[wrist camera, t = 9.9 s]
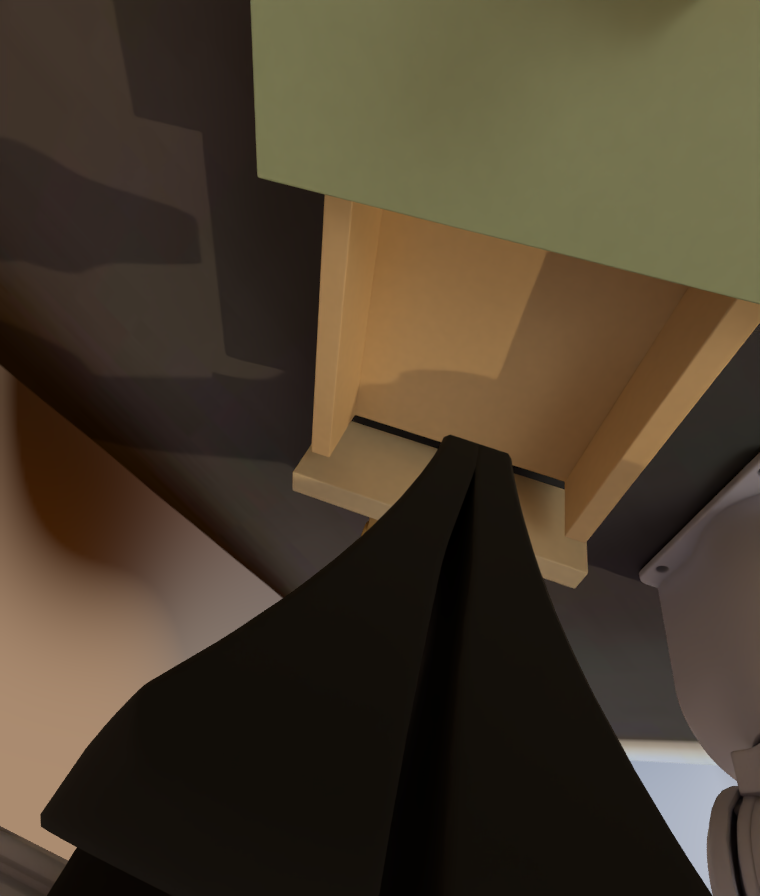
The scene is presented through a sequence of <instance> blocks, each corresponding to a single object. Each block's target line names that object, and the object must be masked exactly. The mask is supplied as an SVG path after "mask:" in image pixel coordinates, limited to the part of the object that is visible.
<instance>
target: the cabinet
mask: <svg viewBox="0 0 760 896" xmlns="http://www.w3.org/2000/svg"><path fill="white" fill-rule="evenodd" d="M250 6H251V31H252V56H253V81H254V107H255V132H256V157H257V176H258V177H259V178H261V179H265V180H269V181H273V182H277V183H281V184H285V185H289V186H293V187H297V188H301V189H305V190H309V191H313V192H317V193H321V194H325V195H329V196H333V197H336V198H340V199H344V200H348V201H352V202H356V203H360V204H364V205H368V206H372V207H376V208H380V209H384V210H388V211H392V212H396V213H400V214H404V215H408V216H412V217H416V218H420V219H424V220H428V221H432V222H435V223H439V224H443V225H447V226H451V227H455V228H459V229H463V230H467V231H471V232H475V233H479V234H483V235H487V236H491V237H495V238H499V239H503V240H507V241H511V242H515V243H519V244H523V245H527V246H531V247H534V248H538V249H542V250H546V251H550V252H554V253H558V254H562V255H566V256H570V257H574V258H578V259H582V260H586V261H590V262H594V263H598V264H602V265H606V266H610V267H614V268H618V269H622V270H626V271H630V272H633V273H637V274H641V275H645V276H649V277H653V278H657V279H661V280H665V281H669V282H673V283H677V284H681V285H685V286H689V287H693V288H697V289H701V290H705V291H709V292H713V293H717V294H721V295H725V296H729V297H732V298H736V299H740V300H744V301H748V302H752V303H756V304H760V0H250Z"/></svg>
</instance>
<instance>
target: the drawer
mask: <svg viewBox="0 0 760 896" xmlns="http://www.w3.org/2000/svg"><path fill="white" fill-rule="evenodd" d="M759 323H760V304H756V303H752V302H748V301H744V300H740V299H736V298H732V297H729V296H725V295H721V294H717V293H713V292H709V291H705V290H701V289H697V288H693V287H689V286H685V285H681V284H677V283H673V282H669V281H665V280H661V279H657V278H653V277H649V276H645V275H641V274H637V273H633V272H630V271H626V270H622V269H618V268H614V267H610V266H606V265H602V264H598V263H594V262H590V261H586V260H582V259H578V258H574V257H570V256H566V255H562V254H558V253H554V252H550V251H546V250H542V249H538V248H534V247H531V246H527V245H523V244H519V243H515V242H511V241H507V240H503V239H499V238H495V237H491V236H487V235H483V234H479V233H475V232H471V231H467V230H463V229H459V228H455V227H451V226H447V225H443V224H439V223H435V222H432V221H428V220H424V219H420V218H416V217H412V216H408V215H404V214H400V213H396V212H392V211H388V210H384V209H380V208H376V207H372V206H368V205H364V204H360V203H356V202H352V201H348V200H344V199H340V198H336V197H333V196H329V195H325V197H324V216H323V236H322V255H321V274H320V293H319V312H318V332H317V351H316V370H315V389H314V408H313V428H312V444H311V446H310V447H309V449H308V450H307V452H306V453H305V455H304V456H303V458H302V459H301V461H300V462H299V464H298V465H297V467H296V468H295V470H294V471H293V491H296V492H299V493H302V494H305V495H308V496H311V497H313V498H316V499H319V500H322V501H325V502H328V503H331V504H333V505H336V506H339V507H342V508H345V509H348V510H351V511H353V512H356V513H359V514H362V515H365V516H368V517H370V518H369V521H367V523H366V524H365V527H364V529H363V532H362V534H361V536H362V535H363V534H364V533H365V532H366V531H367V530H368V529H370V528H371V527H372V526H373V525H374V524H375V523H376V522H377V521H378V520H379V519H380V518H381V517H382V516H383V515H384V514H385V513H386V512H387V511H388V510H389V509H390V508H391V507H392V506H393V505H394V504H395V503H396V502H397V500H398V499H399V498H400V497H401V496H402V495H403V494H404V493H405V492H406V490H407V489H408V488H409V487H410V486H411V484H412V483H413V482H414V481H415V480H416V479H417V477H418V476H419V475H420V474H421V473H422V471H423V470H424V469H425V467H426V466H427V465H428V463H429V462H430V460H431V459H432V458H433V456H434V455H435V453H436V451H437V450H438V449H437V448H434V447H431V446H428V445H425V444H421V443H418V442H415V441H412V440H409V439H406V438H403V437H400V436H397V435H393V434H390V433H387V432H384V431H381V430H378V429H375V428H372V427H369V426H365V425H362V424H359V423H356V422H353V421H352V419H353V417H354V416H355V415H357V416H360V417H364V418H367V419H370V420H373V421H376V422H379V423H382V424H386V425H389V426H392V427H395V428H398V429H401V430H404V431H407V432H411V433H414V434H417V435H420V436H423V437H426V438H429V439H433V440H436V441H439V442H442V440H443V437H445V436H448V435H453V436H456V437H460V438H463V439H466V440H469V441H472V442H475V443H478V444H481V445H484V446H487V447H490V448H493V449H496V450H499V451H502V452H505V453H508V454H509V455H510V457H511V459H512V465H514V466H517V467H520V468H523V469H527V470H530V471H533V472H536V473H539V474H542V475H545V476H548V477H552V478H555V479H558V480H561V481H564V482H565V489H561V488H558V487H555V486H552V485H549V484H546V483H543V482H540V481H537V480H533V479H530V478H527V477H524V476H521V475H518V474H515V473H514V477H515V483H516V487H517V492H518V496H519V500H520V505H521V509H522V513H523V516H524V520H525V524H526V527H527V530H528V534H529V537H530V541H531V544H532V547H533V551H534V554H535V557H536V560H537V563H538V566H539V569H540V572H541V574H542V577H543V578H545V579H548V580H551V581H554V582H556V583H559V584H562V585H565V586H568V587H571V588H574V589H575V588H576V587H577V585H578V584H579V583H580V582H581V581H582V580H583V579H584V577H585V576H586V575H587V574H588V564H587V541H588V539H589V538H590V537H591V536H592V534H593V533H594V532H595V530H596V529H597V528H598V527H599V525H600V524H601V523H602V522H603V520H604V519H605V518H606V517H607V515H608V514H609V513H610V512H611V510H612V509H613V508H614V506H615V505H616V504H617V503H618V501H619V500H620V499H621V498H622V496H623V495H624V494H625V493H626V491H627V490H628V489H629V487H630V486H631V485H632V484H633V482H634V481H635V480H636V479H637V477H638V476H639V475H640V474H641V472H642V471H643V470H644V469H645V467H646V466H647V465H648V463H649V462H650V461H651V460H652V458H653V457H654V456H655V455H656V453H657V452H658V451H659V450H660V448H661V447H662V446H663V445H664V443H665V442H666V441H667V439H668V438H669V437H670V436H671V434H672V433H673V432H674V431H675V429H676V428H677V427H678V426H679V424H680V423H681V422H682V421H683V419H684V418H685V417H686V415H687V414H688V413H689V412H690V410H691V409H692V408H693V407H694V405H695V404H696V403H697V402H698V400H699V399H700V398H701V396H702V395H703V394H704V393H705V391H706V390H707V389H708V388H709V386H710V385H711V384H712V383H713V381H714V380H715V379H716V378H717V376H718V375H719V374H720V372H721V371H722V370H723V369H724V367H725V366H726V365H727V364H728V362H729V361H730V360H731V359H732V357H733V356H734V355H735V354H736V352H737V351H738V350H739V348H740V347H741V346H742V345H743V343H744V342H745V341H746V340H747V338H748V337H749V336H750V335H751V333H752V332H753V331H754V329H755V328H756V327H757V326H758V324H759Z"/></svg>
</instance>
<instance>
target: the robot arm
mask: <svg viewBox="0 0 760 896" xmlns="http://www.w3.org/2000/svg"><path fill="white" fill-rule="evenodd" d="M759 469H760V453H759V454H758V455H757V456H756V457H755V458H754V459H753V460H752V461H750V462H749V463H748V464H747V465H746V466H745V467H744V468H743V469H742V470H741V471H740V472H739V473H738V474H737V475H736V476H735V477H734V478H733V479H732V480H731V481H730V482H729V483H728V484H727V485H726V486H725V487H724V488H723V489H722V490H721V491H720V492H719V493H718V494H717V495H716V496H715V497H714V498H713V499H712V500H711V501H710V502H709V503H708V504H707V505H706V506H705V507H704V508H703V509H702V510H701V511H700V512H699V513H698V514H697V515H696V516H695V517H694V518H693V519H692V520H691V521H690V522H689V523H688V524H687V525H686V526H685V527H684V528H683V529H682V530H681V531H680V532H679V533H678V534H677V535H676V536H675V537H674V538H673V539H672V540H671V541H670V542H669V543H668V544H667V545H666V546H665V547H664V548H663V549H662V550H661V551H660V552H659V553H658V554H657V555H656V556H655V557H654V558H653V559H652V560H651V561H650V562H648V563H647V564H646V565H645V566H644V567H643V568H642V569H641V570H640V572H639V577H640V581H641V582H643V583H645V584H647V585H650V586H653V587H656V588H658V593H659V598H660V604H661V610H662V615H663V621H664V627H665V632H666V638H667V644H668V649H669V655H670V661H671V667H672V672H673V678H674V684H675V689H676V694H677V698H678V702H679V705H680V708H681V710H682V713H683V715H684V717H685V719H686V721H687V723H688V725H689V727H690V729H691V730H692V732H693V734H694V735H695V737H696V738H697V740H698V741H699V743H700V744H701V746H702V747H703V748H704V750H705V751H706V752H707V754H708V755H709V756H710V757H711V758H712V759H713V760H714V762H715V763H716V764H717V765H718V766H719V767H720V768H722V769H723V770H724V771H725V772H726V773H727V774H729V775H730V776H731V777H732V778H734V779H735V780H736V781H737V783H738V786H732V787H729V788H727V789H725V790H723V791H722V792H721V793H720V794H719V795H718V796H717V798H716V800H715V802H714V805H713V807H712V811H711V817H710V822H709V830H708V836H707V862H708V871H709V878H710V884H711V889H712V893H713V896H760V470H759ZM41 827H43V828H44V829H46V830H47V831H49V832H51V833H52V834H54V835H56V836H58V837H59V838H61V839H63V840H65V841H67V842H69V843H71V844H72V845H74V846H76V847H77V848H76V850H75V851H74V853H73V854H72V856H71V858H70V859H69V861H68V860H66V859H64V858H62V857H60V856H58V855H56V854H54V853H52V852H50V851H48V850H46V849H44V848H42V847H40V846H38V845H36V844H34V843H32V842H30V841H28V840H26V839H24V838H22V837H20V836H18V835H16V834H15V833H13V832H11V831H9V830H7V829H5V828H3V827H1V826H0V896H712V894H711V893H710V891H709V890H708V888H707V887H706V885H705V884H704V882H703V880H702V879H701V877H700V876H699V874H698V873H697V871H696V870H695V868H694V867H693V865H692V864H691V862H690V861H689V859H688V857H687V856H686V855H685V853H684V851H683V849H682V848H681V846H680V845H679V843H678V841H677V840H676V838H675V837H674V835H673V834H672V832H671V830H670V829H669V827H668V825H667V824H666V822H665V820H664V819H663V817H662V815H661V813H660V812H659V810H658V808H657V807H656V805H655V803H654V802H653V800H652V798H651V797H650V795H649V793H648V792H647V790H646V788H645V787H644V785H643V783H642V781H641V780H640V778H639V776H638V775H637V773H636V772H635V770H634V768H633V766H632V764H631V762H630V760H629V759H628V757H627V755H626V753H625V751H624V749H623V747H622V746H621V744H620V742H619V740H618V738H617V736H616V735H615V733H614V731H613V729H612V727H611V725H610V724H609V722H608V720H607V718H606V716H605V714H604V712H603V711H602V709H601V707H600V705H599V703H598V701H597V700H596V698H595V696H594V694H593V692H592V690H591V688H590V686H589V684H588V682H587V680H586V678H585V676H584V674H583V671H582V669H581V667H580V665H579V663H578V661H577V659H576V657H575V655H574V653H573V650H572V648H571V646H570V644H569V641H568V639H567V637H566V635H565V632H564V630H563V628H562V626H561V623H560V621H559V619H558V616H557V614H556V611H555V609H554V606H553V604H552V601H551V599H550V596H549V594H548V591H547V588H546V585H545V583H544V580H543V577H542V574H541V572H540V569H539V566H538V563H537V560H536V557H535V554H534V551H533V547H532V544H531V541H530V537H529V534H528V530H527V527H526V524H525V520H524V516H523V513H522V509H521V505H520V500H519V496H518V492H517V487H516V483H515V477H514V472H513V466H512V459H511V457H510V455H509V454H508V453H505V452H502V451H499V450H496V449H493V448H490V447H487V446H484V445H481V444H478V443H475V442H472V441H469V440H466V439H463V438H460V437H456V436H453V435H448V436H445V437H443V440H442V442H441V444H440V446H439V448H438V450H437V451H436V453H435V455H434V456H433V458H432V459H431V460H430V462H429V463H428V465H427V466H426V467H425V469H424V470H423V471H422V473H421V474H420V475H419V476H418V477H417V479H416V480H415V481H414V482H413V483H412V484H411V486H410V487H409V488H408V489H407V490H406V492H405V493H404V494H403V495H402V496H401V497H400V498H399V499H398V500H397V502H396V503H395V504H394V505H393V506H392V507H391V508H390V509H389V510H388V511H387V512H386V513H385V514H384V515H383V516H382V517H381V518H380V519H379V520H378V521H377V522H376V523H375V524H374V525H373V526H372V527H371V528H370V529H368V530H367V531H366V532H365V533H364V534H363V535H362V536H361V537H360V538H359V539H358V540H356V541H355V542H354V543H353V544H352V545H351V546H350V547H348V548H347V549H346V550H345V551H344V552H343V553H341V554H340V555H339V556H338V557H337V558H335V559H334V560H333V561H332V562H330V563H329V564H328V565H327V566H325V567H324V568H323V569H321V570H320V571H319V572H318V573H316V574H315V575H314V576H313V577H311V578H310V579H309V580H307V581H306V582H305V583H303V584H302V585H301V586H299V587H298V588H297V589H295V590H294V591H293V592H291V593H290V594H288V595H287V596H286V597H284V598H283V599H281V600H280V601H279V602H277V603H275V604H274V605H272V606H271V607H269V608H268V609H266V610H265V611H264V612H262V613H261V614H259V615H257V616H256V617H254V618H253V619H252V620H250V621H249V622H247V623H246V624H244V625H243V626H241V627H240V628H238V629H237V630H235V631H234V632H232V633H230V634H229V635H227V636H226V637H224V638H222V639H221V640H219V641H218V642H216V643H214V644H213V645H211V646H209V647H207V648H206V649H204V650H202V651H201V652H199V653H197V654H196V655H194V656H192V657H191V658H189V659H187V660H186V661H184V662H182V663H180V664H179V665H177V666H175V667H174V668H172V669H170V670H168V671H167V672H165V673H163V674H162V675H160V676H158V677H156V678H155V679H153V680H151V681H150V682H148V683H147V684H145V685H144V686H143V687H142V688H141V689H139V690H138V691H137V693H135V694H134V695H133V696H132V697H131V698H130V699H129V700H128V702H127V703H126V704H125V705H124V706H123V707H122V708H121V709H120V710H119V711H118V712H117V713H116V714H115V715H114V716H113V717H112V718H111V720H110V721H109V722H108V723H107V724H106V725H105V726H104V727H103V729H102V730H101V731H100V732H99V733H98V735H97V736H96V737H95V738H94V739H93V741H92V742H91V743H90V744H89V745H88V747H87V748H86V749H85V751H84V752H83V754H82V755H81V757H80V758H79V759H78V761H77V762H76V764H75V765H74V766H73V768H72V769H71V771H70V772H69V774H68V775H67V777H66V778H65V780H64V781H63V782H62V784H61V785H60V787H59V788H58V790H57V791H56V793H55V794H54V796H53V797H52V798H51V800H50V801H49V803H48V804H47V806H46V807H45V809H44V810H43V812H42V813H41Z"/></svg>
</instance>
